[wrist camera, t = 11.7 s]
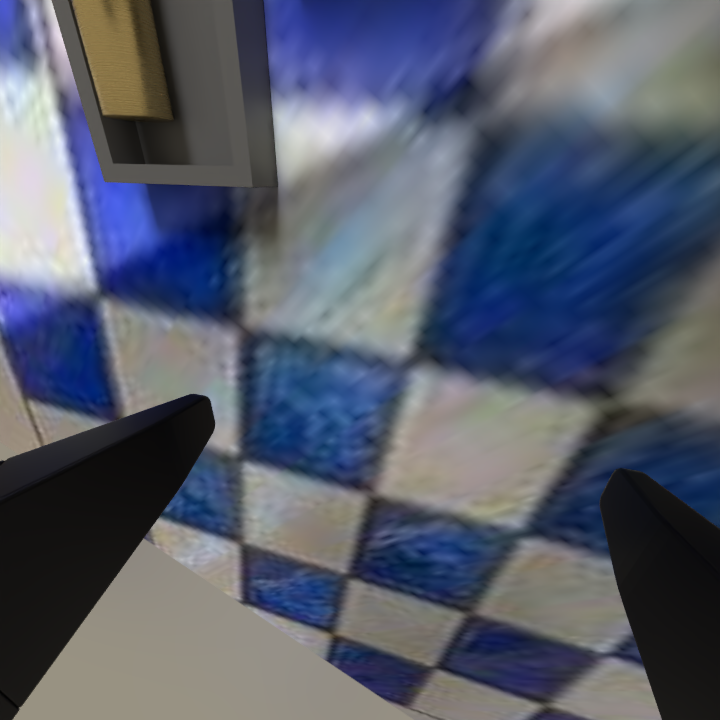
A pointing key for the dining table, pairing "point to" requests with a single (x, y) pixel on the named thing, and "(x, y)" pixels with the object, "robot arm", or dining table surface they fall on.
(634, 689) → the dining table surface
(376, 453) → the dining table surface
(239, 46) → the tray
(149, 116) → the pin
